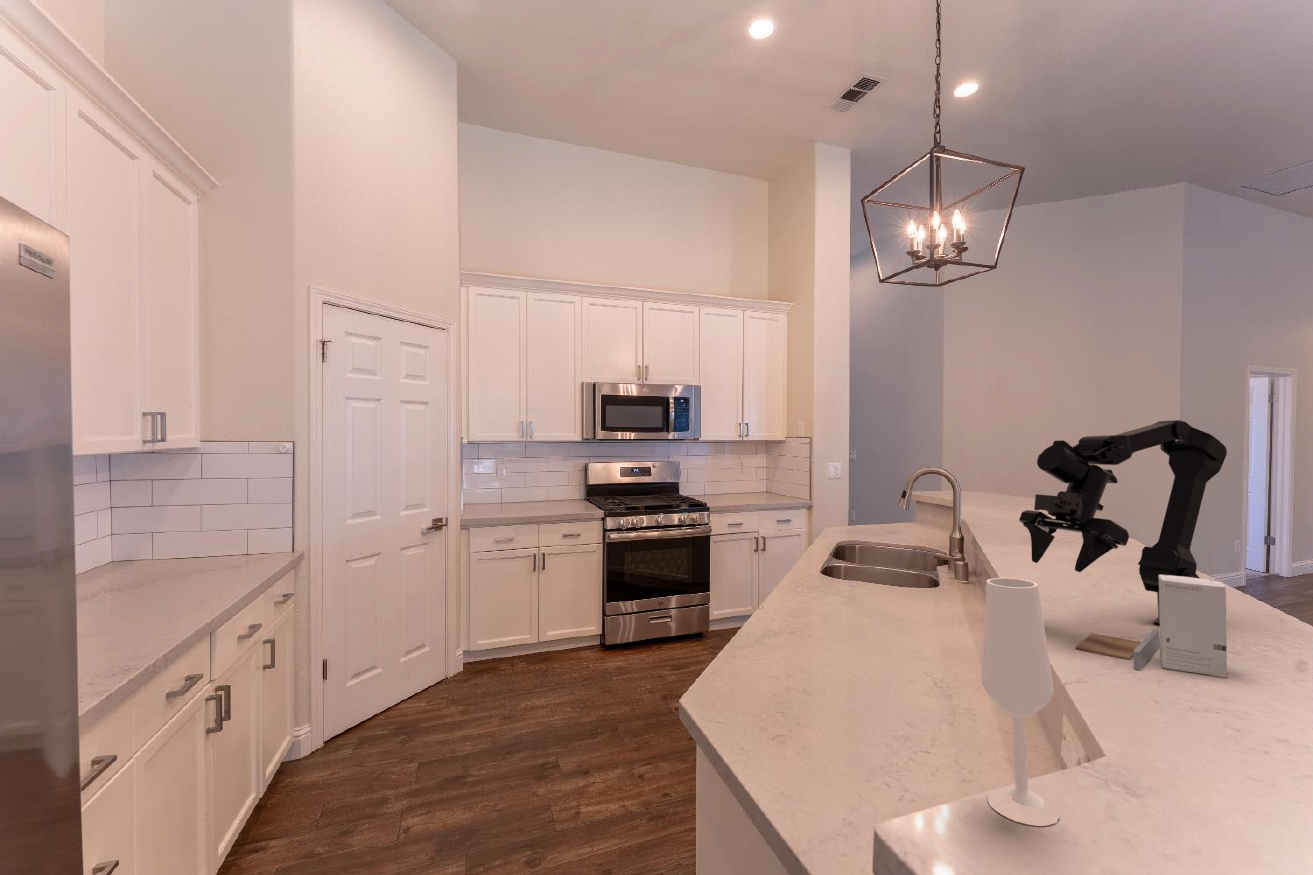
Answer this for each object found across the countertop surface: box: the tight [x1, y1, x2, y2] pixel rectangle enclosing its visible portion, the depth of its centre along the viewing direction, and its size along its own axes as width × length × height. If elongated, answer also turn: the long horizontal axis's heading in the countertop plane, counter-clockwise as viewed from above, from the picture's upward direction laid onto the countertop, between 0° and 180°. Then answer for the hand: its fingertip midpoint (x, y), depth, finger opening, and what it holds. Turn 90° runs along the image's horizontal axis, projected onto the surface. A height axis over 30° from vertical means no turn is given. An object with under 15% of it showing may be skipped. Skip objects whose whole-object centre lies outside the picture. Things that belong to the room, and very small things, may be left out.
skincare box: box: [1158, 575, 1228, 678], centre depth 98 cm, size 8×6×15 cm
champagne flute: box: [980, 577, 1055, 808], centre depth 64 cm, size 7×7×24 cm
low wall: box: [1132, 628, 1160, 671], centre depth 104 cm, size 16×1×3 cm, turn 130°
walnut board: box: [1074, 633, 1142, 661], centre depth 109 cm, size 11×8×1 cm
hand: (1054, 566), depth 114 cm, fingers open, 9 cm apart
